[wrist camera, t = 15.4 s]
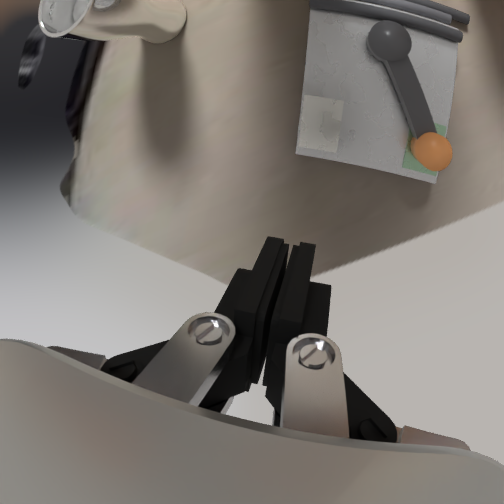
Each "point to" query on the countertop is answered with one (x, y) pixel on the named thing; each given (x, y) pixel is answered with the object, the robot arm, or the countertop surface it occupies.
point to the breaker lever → (409, 93)
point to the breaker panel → (368, 94)
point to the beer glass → (112, 19)
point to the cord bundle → (403, 14)
